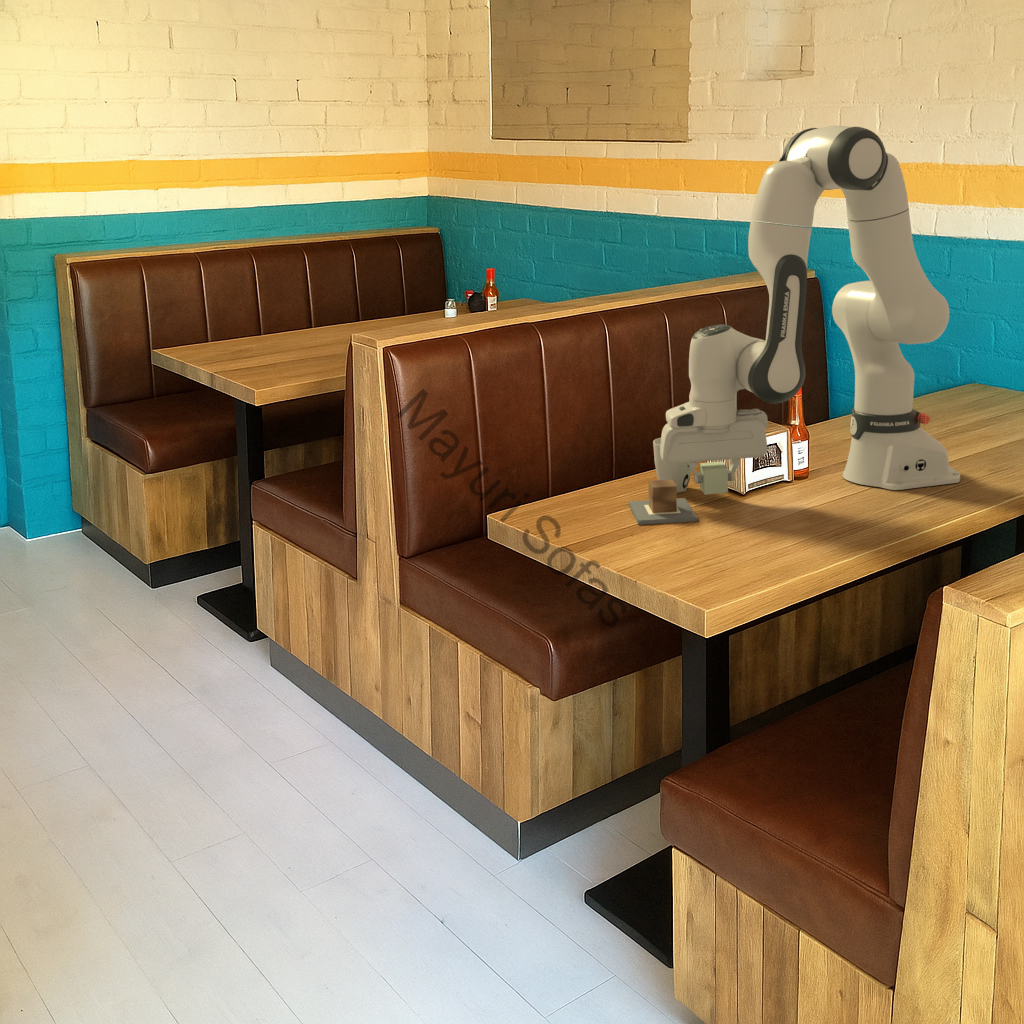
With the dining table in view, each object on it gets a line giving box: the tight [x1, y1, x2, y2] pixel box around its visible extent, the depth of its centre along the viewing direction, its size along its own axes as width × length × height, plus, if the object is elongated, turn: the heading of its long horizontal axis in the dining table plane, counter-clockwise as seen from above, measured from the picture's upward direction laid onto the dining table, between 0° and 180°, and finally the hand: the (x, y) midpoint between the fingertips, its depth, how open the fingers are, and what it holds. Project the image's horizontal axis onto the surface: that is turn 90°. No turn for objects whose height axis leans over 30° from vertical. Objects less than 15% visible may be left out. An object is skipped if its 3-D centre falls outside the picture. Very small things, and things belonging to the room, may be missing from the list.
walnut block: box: [648, 479, 678, 513], centre depth 213 cm, size 4×4×5 cm
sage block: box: [699, 461, 729, 496], centre depth 219 cm, size 4×4×5 cm
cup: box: [652, 437, 692, 494], centre depth 227 cm, size 8×8×10 cm
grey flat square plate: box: [628, 497, 699, 525], centre depth 214 cm, size 11×12×1 cm
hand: (713, 481), depth 219 cm, fingers closed on sage block, 4 cm apart
